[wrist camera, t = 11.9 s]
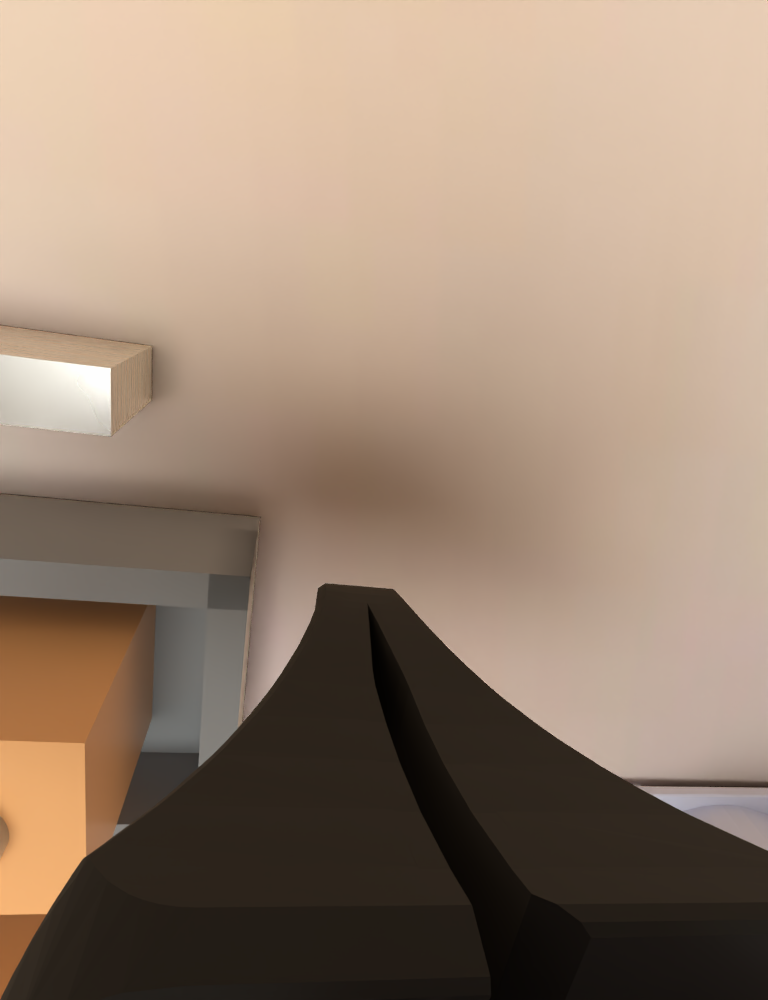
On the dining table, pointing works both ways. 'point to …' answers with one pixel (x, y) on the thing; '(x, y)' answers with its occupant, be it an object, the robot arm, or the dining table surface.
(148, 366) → the bar
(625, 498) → the dining table surface
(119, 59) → the dining table surface
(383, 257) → the dining table surface
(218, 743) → the housing
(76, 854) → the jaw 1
